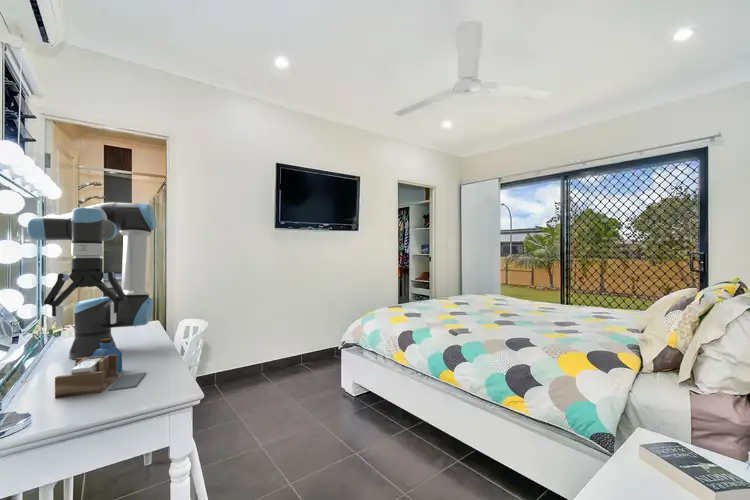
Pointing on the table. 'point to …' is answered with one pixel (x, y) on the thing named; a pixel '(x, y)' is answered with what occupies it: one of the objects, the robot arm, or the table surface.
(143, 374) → the slate pad
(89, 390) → the pocket jig
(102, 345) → the perfume bottle
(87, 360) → the bar
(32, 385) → the table surface
